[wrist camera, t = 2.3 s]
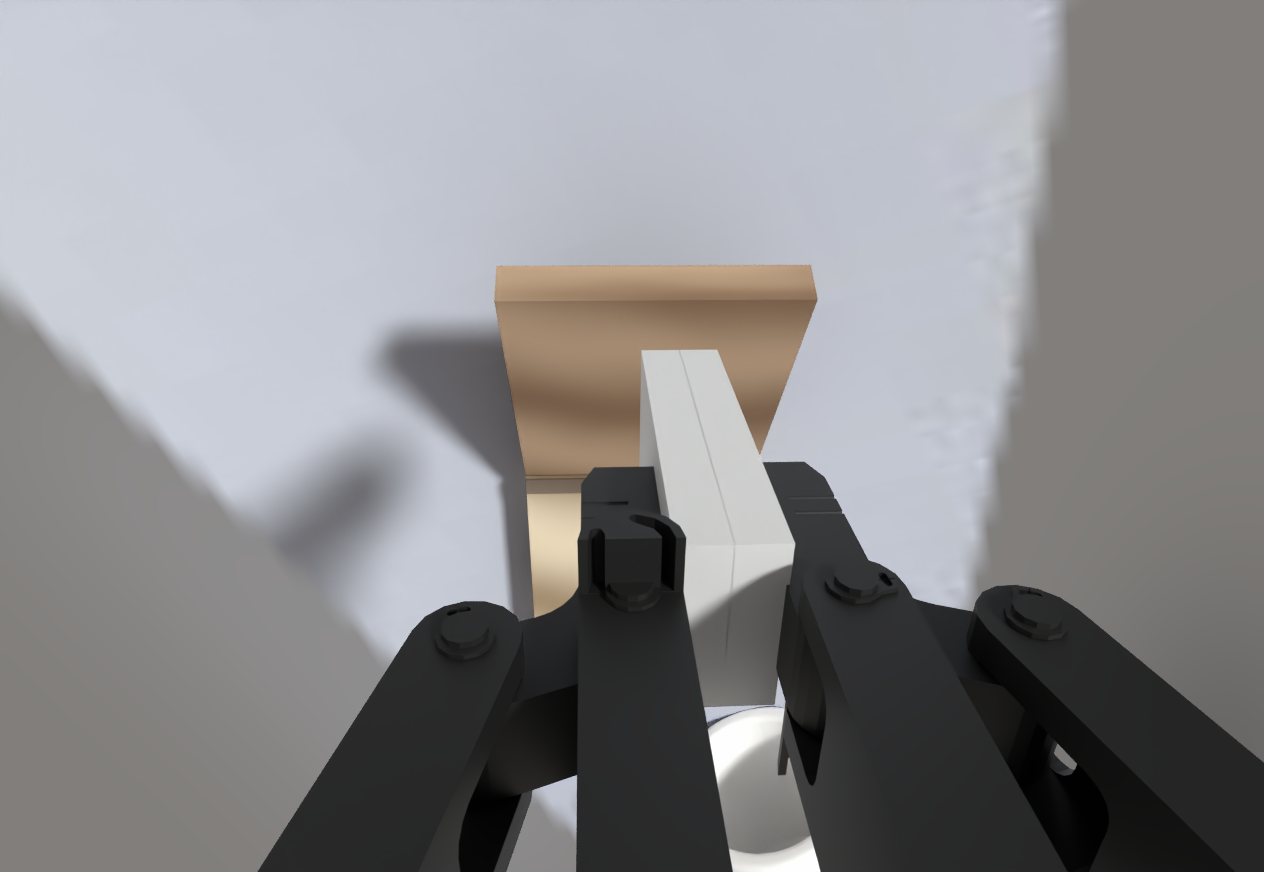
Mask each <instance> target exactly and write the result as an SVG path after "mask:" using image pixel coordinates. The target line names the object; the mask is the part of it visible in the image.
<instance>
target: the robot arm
mask: <svg viewBox="0 0 1264 872" xmlns="http://www.w3.org/2000/svg"><path fill="white" fill-rule="evenodd" d="M577 547H578V588H577V590H576V591H575V593H574V594H573V596H572V597H571V598H570V599H569V600H568V601H567V602H566V603H565V604H563V605H562V606H560V607H558V608H557V609H555V610H553V611H552V612H549V613H547V614H544V615H541V616H538V617H535V618H531V619H527V620H524V621H520V622H519V621H518V619H517V616H515V615H514V614H513V613H511V612H510V611H509V610H507V609H506V608H505V607H503V606H499V605H496V604H492V603H489V602H485V601H464V602H460V603H456V604H452V605H448V606H444V607H442V608H440V609H438V610H436V611H435V612H433V613H431V614H429V615H427V616H425V617H424V618H423V620H422V621H421V622H420V623H419V624H418V625H417V626H416V627H415V628H414V629H413V630H412V632H411V633H410V635H409V636H408V638H407V639H406V641H405V642H404V644H403V646H402V647H401V649H400V650H399V652H398V653H397V655H396V656H395V658H394V660H393V661H392V663H391V664H390V666H389V667H388V669H387V671H386V672H385V674H384V675H383V677H382V678H381V680H380V681H379V683H378V685H377V686H376V688H375V689H374V691H373V693H372V694H371V696H370V697H369V699H368V700H367V702H366V703H365V705H364V706H363V708H362V710H361V711H360V713H359V714H358V716H357V717H356V719H355V720H354V722H353V724H352V725H351V727H350V728H349V730H348V732H347V733H346V735H345V736H344V738H343V739H342V741H341V742H340V744H339V746H338V747H337V749H336V750H335V752H334V753H333V755H332V756H331V758H330V759H329V761H328V763H327V764H326V766H325V767H324V769H323V770H322V772H321V774H320V775H319V777H318V778H317V780H316V781H315V783H314V785H313V786H312V788H311V789H310V791H309V792H308V794H307V795H306V797H305V798H304V800H303V802H302V803H301V805H300V806H299V808H298V809H297V811H296V813H295V814H294V816H293V817H292V819H291V820H290V822H289V823H288V825H287V827H286V828H285V830H284V831H283V833H282V834H281V836H280V837H279V839H278V841H277V842H276V844H275V845H274V847H273V848H272V850H271V852H270V853H269V855H268V856H267V858H266V859H265V861H264V863H263V864H262V866H261V867H260V869H259V870H258V872H506V871H507V868H508V865H509V862H510V859H511V856H512V854H513V850H514V848H515V845H516V842H517V839H518V836H519V833H520V830H521V827H522V825H523V821H524V819H525V816H526V813H527V810H528V807H529V805H530V802H531V797H532V790H534V789H537V788H540V787H543V786H546V785H549V784H552V783H555V782H558V781H560V780H563V779H566V778H569V777H572V776H575V775H577V855H576V862H577V863H576V872H733V869H732V864H731V858H730V852H729V846H728V841H727V835H726V829H725V824H724V818H723V812H722V807H721V801H720V795H719V790H718V784H717V778H716V773H715V767H714V761H713V756H712V750H711V744H710V739H709V733H708V727H707V722H706V716H705V710H704V707H717V706H748V705H774V704H775V697H776V689H777V681H778V677H779V680H780V684H781V687H782V690H783V694H784V697H785V701H786V703H785V710H784V717H783V725H782V732H781V739H780V746H779V754H778V761H777V763H778V775H786V771H787V764H788V758H790V762H791V766H792V769H793V773H794V777H795V780H796V784H797V788H798V791H799V795H800V799H801V802H802V806H803V810H804V813H805V817H806V820H807V824H808V828H809V831H810V835H811V839H812V842H813V846H814V850H815V853H816V857H817V861H818V864H819V868H820V872H1264V763H1263V762H1262V761H1261V760H1260V759H1259V758H1258V757H1256V756H1255V755H1254V754H1253V753H1251V752H1250V751H1249V750H1248V749H1247V748H1245V747H1244V746H1243V745H1242V744H1241V743H1239V742H1238V741H1237V740H1236V739H1234V738H1233V737H1232V736H1231V735H1230V734H1228V733H1227V732H1226V731H1225V730H1224V729H1222V728H1221V727H1220V726H1218V724H1216V723H1215V722H1214V721H1213V720H1211V719H1210V718H1209V717H1208V716H1207V715H1205V714H1204V713H1203V712H1202V711H1201V710H1199V709H1198V708H1197V707H1196V706H1194V705H1193V704H1192V703H1191V702H1190V701H1189V700H1187V699H1186V698H1185V697H1184V696H1182V695H1181V694H1180V693H1179V692H1178V691H1176V690H1175V689H1174V688H1173V687H1172V686H1170V685H1169V684H1168V683H1167V682H1166V681H1164V680H1163V679H1162V678H1161V677H1159V676H1158V675H1157V674H1156V673H1155V672H1153V671H1152V670H1151V669H1150V668H1148V667H1147V666H1146V665H1145V664H1144V663H1143V662H1141V661H1140V660H1139V659H1138V658H1136V657H1135V656H1134V655H1133V654H1132V653H1130V652H1129V651H1128V650H1127V649H1126V648H1124V647H1123V646H1122V645H1121V644H1120V643H1118V642H1117V641H1116V640H1115V639H1113V638H1112V637H1111V636H1110V635H1109V634H1107V633H1106V632H1105V631H1104V630H1102V629H1101V628H1100V627H1099V626H1098V625H1097V624H1095V623H1094V622H1093V621H1092V620H1091V619H1089V618H1088V617H1087V616H1086V615H1084V614H1083V613H1082V612H1081V611H1080V610H1078V609H1077V608H1075V607H1074V606H1072V605H1071V604H1069V603H1067V602H1066V601H1064V600H1063V599H1061V598H1060V597H1057V596H1055V595H1052V594H1050V593H1047V592H1044V591H1042V590H1039V589H1035V588H1030V587H1024V586H1019V585H1007V586H996V587H993V588H991V589H989V590H986V591H984V592H982V594H981V595H980V597H979V598H978V599H977V601H976V603H975V607H974V610H973V612H972V611H967V610H961V609H956V608H951V607H945V606H940V605H935V604H931V603H927V602H923V601H919V600H916V599H914V598H913V597H912V596H911V594H910V592H909V590H908V589H907V587H906V585H905V584H904V583H903V582H902V581H901V580H900V578H899V577H898V576H897V575H896V574H895V573H893V572H892V571H890V570H889V569H887V568H885V567H884V566H882V565H880V564H878V563H875V562H872V561H869V560H868V559H867V557H866V555H865V553H864V551H863V549H862V547H861V545H860V543H859V541H858V540H857V538H856V536H855V534H854V532H853V530H852V528H851V526H850V524H849V523H848V521H847V519H846V517H845V515H844V514H842V509H841V507H840V505H839V504H838V502H837V500H836V499H834V494H833V492H832V490H831V488H830V486H829V485H828V483H827V481H826V479H825V477H824V476H822V475H821V474H820V473H818V472H817V471H816V470H814V469H813V468H812V467H810V466H809V465H808V464H806V463H805V462H762V460H761V457H760V455H759V452H758V450H757V447H756V445H755V443H754V440H753V438H752V435H751V433H750V430H749V428H748V425H747V423H746V420H745V418H744V415H743V413H742V410H741V408H740V405H739V403H738V400H737V398H736V395H735V393H734V390H733V388H732V385H731V383H730V380H729V378H728V376H727V373H726V371H725V368H724V366H723V363H722V361H721V358H720V356H719V353H718V351H717V350H641V398H640V456H639V467H594V468H593V469H592V471H591V472H590V473H589V474H588V476H587V477H586V478H585V480H584V481H583V482H582V483H581V531H580V534H579V537H578V539H577ZM1057 743H1058V744H1059V745H1060V746H1061V747H1062V748H1063V749H1064V750H1065V751H1066V753H1067V754H1068V755H1070V757H1071V758H1072V759H1073V760H1074V761H1075V762H1076V763H1077V766H1076V769H1075V770H1072V769H1070V768H1068V767H1067V766H1066V765H1065V764H1063V763H1062V762H1061V761H1060V760H1059V759H1058V758H1057V757H1056V756H1055V754H1054V751H1055V748H1056V746H1057Z"/></svg>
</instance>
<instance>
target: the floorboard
mask: <svg viewBox="0 0 1264 872" xmlns="http://www.w3.org/2000/svg"><path fill="white" fill-rule="evenodd" d="M587 476H588V474H582V475H526V494H527V506H528V522H529V539H530V555H531V571H532V587H533V604H534V618H535V617H538V616H541V615H544V614H547V613H549V612H552V611H553V610H555V609H557V608H558V607H560V606H562V605H563V604H565V603H566V602H567V601H568V600H569V599H570V598H571V597H572V596H573V594H574V593H575V591H576V590H577V588H578V547H577V539H578V537H579V534H580V531H581V483H582V482H583V481H584V480H585V478H586V477H587Z"/></svg>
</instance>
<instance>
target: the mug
mask: <svg viewBox="0 0 1264 872" xmlns="http://www.w3.org/2000/svg"><path fill="white" fill-rule="evenodd" d="M784 710H785V708H779V707H763V708H755V709H749V710H745V711H741V712H738V713H736V714H733V715H731V716H728V717H726V718H724V719H722V720H720V721H719V722H717V723H715V724H714V725H713V726H711V727H710V728H708V733H709V739H710V744H711V750H712V756H713V761H714V767H715V773H716V778H717V784H718V790H719V795H720V801H721V807H722V812H723V818H724V824H725V829H726V835H727V841H728V846H729V852H730V858H731V864H732V869H733V872H820V868H819V864H818V861H817V857H816V853H815V850H814V846H813V842H812V839H811V835H810V831H809V828H808V824H807V820H806V817H805V813H804V810H803V806H802V802H801V799H800V795H799V791H798V788H797V784H796V780H795V777H794V773H793V769H792V766H791V762H790V758H788V764H787V771H786V775H778V763H777V761H778V754H779V746H780V739H781V732H782V725H783V717H784Z"/></svg>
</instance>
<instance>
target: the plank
mask: <svg viewBox="0 0 1264 872" xmlns="http://www.w3.org/2000/svg"><path fill="white" fill-rule="evenodd" d="M494 302H495V307H496V313H497V318H498V324H499V329H500V335H501V341H502V346H503V352H504V357H505V363H506V369H507V374H508V380H509V385H510V391H511V396H512V402H513V408H514V413H515V419H516V424H517V430H518V435H519V441H520V447H521V452H522V458H523V463H524V469H525V475H582V474H589V473H590V472H591V471H592V469H593V468H594V467H639V456H640V398H641V350H717V351H718V353H719V356H720V358H721V361H722V363H723V366H724V368H725V371H726V373H727V376H728V378H729V380H730V383H731V385H732V388H733V390H734V393H735V395H736V398H737V400H738V403H739V405H740V408H741V410H742V413H743V415H744V418H745V420H746V423H747V425H748V428H749V430H750V433H751V435H752V438H753V440H754V443H755V445H756V447H757V450H758V452H759V455H760V453H761V450H762V447H763V445H764V442H765V439H766V437H767V434H768V431H769V429H770V426H771V423H772V421H773V418H774V415H775V413H776V410H777V407H778V404H779V402H780V399H781V396H782V394H783V391H784V388H785V386H786V383H787V380H788V378H789V375H790V372H791V369H792V367H793V364H794V361H795V359H796V356H797V353H798V351H799V348H800V345H801V343H802V340H803V337H804V335H805V332H806V329H807V326H808V324H809V321H810V318H811V316H812V313H813V310H814V308H815V305H816V302H817V294H816V289H815V284H814V279H813V274H812V269H811V265H676V266H497V269H496V285H495V300H494Z"/></svg>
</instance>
